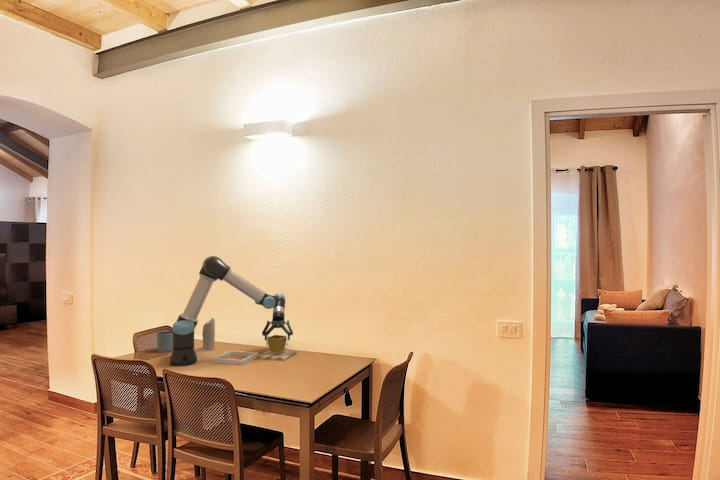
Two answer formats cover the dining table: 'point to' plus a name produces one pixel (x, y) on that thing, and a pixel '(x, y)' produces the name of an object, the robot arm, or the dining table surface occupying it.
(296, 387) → the dining table surface
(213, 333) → the grey upright panel
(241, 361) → the grey square frame
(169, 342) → the drinking glass
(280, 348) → the flower pot
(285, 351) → the slatted trivet
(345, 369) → the dining table surface
